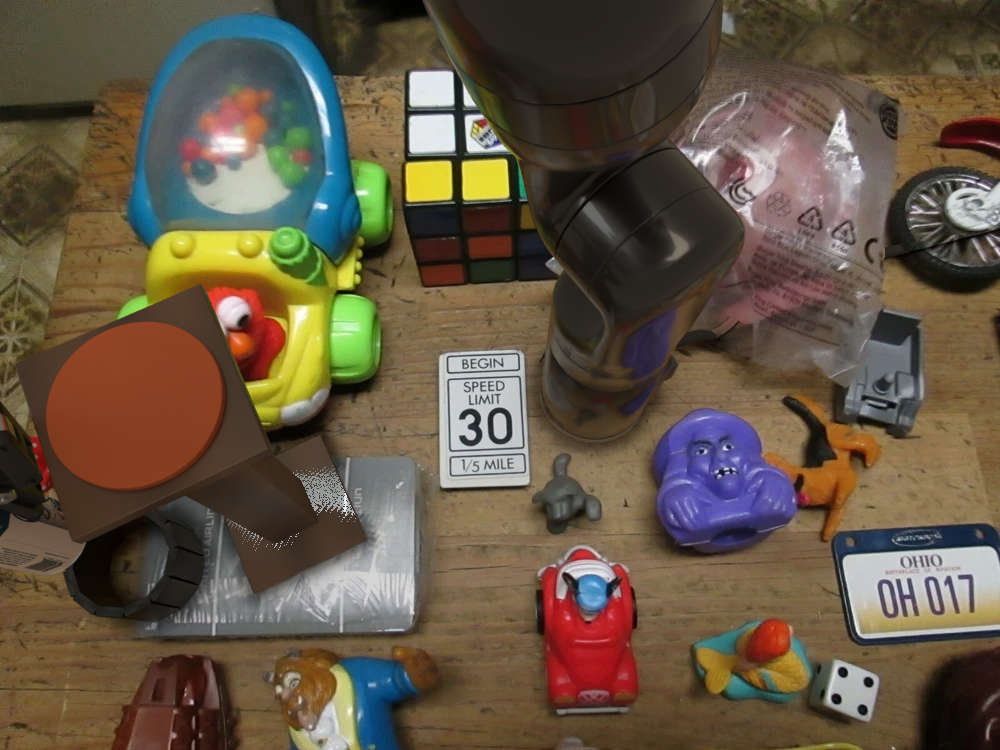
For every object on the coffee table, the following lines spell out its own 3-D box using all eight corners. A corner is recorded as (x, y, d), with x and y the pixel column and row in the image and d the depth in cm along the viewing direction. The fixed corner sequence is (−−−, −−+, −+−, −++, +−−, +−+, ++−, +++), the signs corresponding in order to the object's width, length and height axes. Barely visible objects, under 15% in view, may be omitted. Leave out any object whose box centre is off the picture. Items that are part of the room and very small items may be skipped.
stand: (322, 437, 73) (200, 283, 44) (368, 540, 70) (269, 449, 41) (214, 487, 71) (13, 363, 42) (256, 595, 68) (71, 541, 39)
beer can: (103, 513, 55) (-4, 474, 43) (72, 585, 53) (-47, 564, 42) (37, 493, 55) (-86, 450, 44) (4, 564, 54) (-132, 538, 42)
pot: (184, 498, 71) (156, 484, 65) (218, 591, 68) (192, 584, 63) (86, 544, 70) (50, 533, 64) (118, 640, 67) (83, 637, 62)
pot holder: (192, 299, 43) (187, 294, 43) (251, 443, 41) (247, 439, 40) (30, 369, 42) (24, 365, 41) (81, 521, 39) (74, 519, 39)
